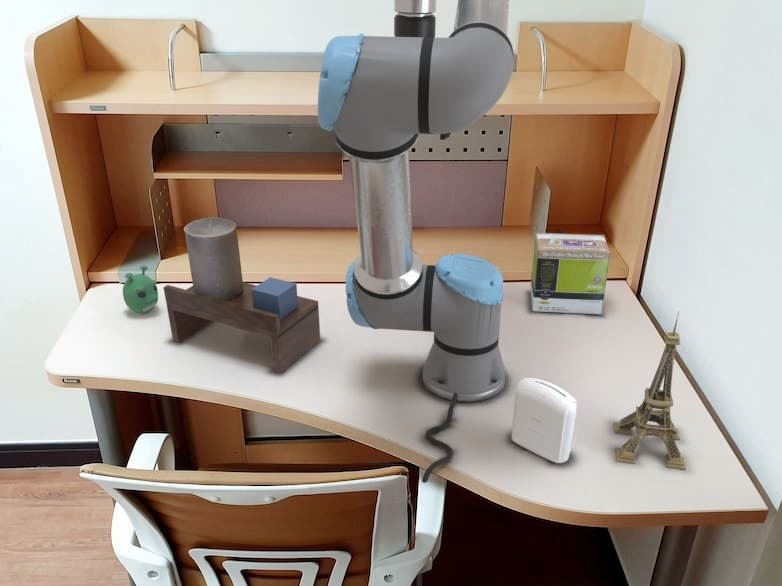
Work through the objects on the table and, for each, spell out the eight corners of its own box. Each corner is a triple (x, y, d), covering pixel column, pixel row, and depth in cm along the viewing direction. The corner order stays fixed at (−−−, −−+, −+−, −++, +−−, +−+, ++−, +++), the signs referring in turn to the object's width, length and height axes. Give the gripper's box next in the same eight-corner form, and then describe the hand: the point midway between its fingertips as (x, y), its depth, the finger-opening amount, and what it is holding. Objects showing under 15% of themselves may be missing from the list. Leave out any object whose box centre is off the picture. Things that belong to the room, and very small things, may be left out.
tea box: (596, 295, 171) (606, 233, 163) (601, 316, 163) (612, 252, 155) (529, 291, 172) (535, 230, 164) (530, 312, 164) (538, 248, 156)
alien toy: (145, 323, 158) (137, 279, 153) (119, 314, 161) (110, 271, 156) (170, 310, 163) (163, 267, 158) (144, 301, 166) (136, 259, 161)
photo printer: (506, 440, 126) (513, 378, 119) (521, 429, 128) (528, 367, 122) (559, 468, 120) (569, 404, 113) (573, 456, 122) (584, 392, 116)
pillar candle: (238, 278, 156) (230, 208, 148) (248, 298, 148) (240, 225, 140) (190, 285, 153) (179, 214, 145) (197, 306, 145) (186, 232, 137)
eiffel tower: (616, 461, 121) (644, 324, 108) (613, 423, 130) (639, 291, 117) (685, 469, 120) (722, 331, 106) (677, 430, 128) (710, 298, 115)
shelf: (320, 340, 153) (317, 287, 146) (280, 373, 142) (275, 317, 136) (217, 312, 162) (210, 260, 156) (172, 341, 152) (163, 287, 145)
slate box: (298, 307, 146) (296, 283, 143) (280, 320, 141) (278, 296, 138) (272, 300, 148) (270, 277, 145) (253, 313, 143) (251, 289, 141)
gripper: (487, 16, 135) (479, 137, 146) (364, 6, 144) (366, 121, 155) (471, 21, 129) (464, 147, 140) (344, 11, 138) (348, 129, 150)
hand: (413, 133), depth 148 cm, fingers open, 13 cm apart
